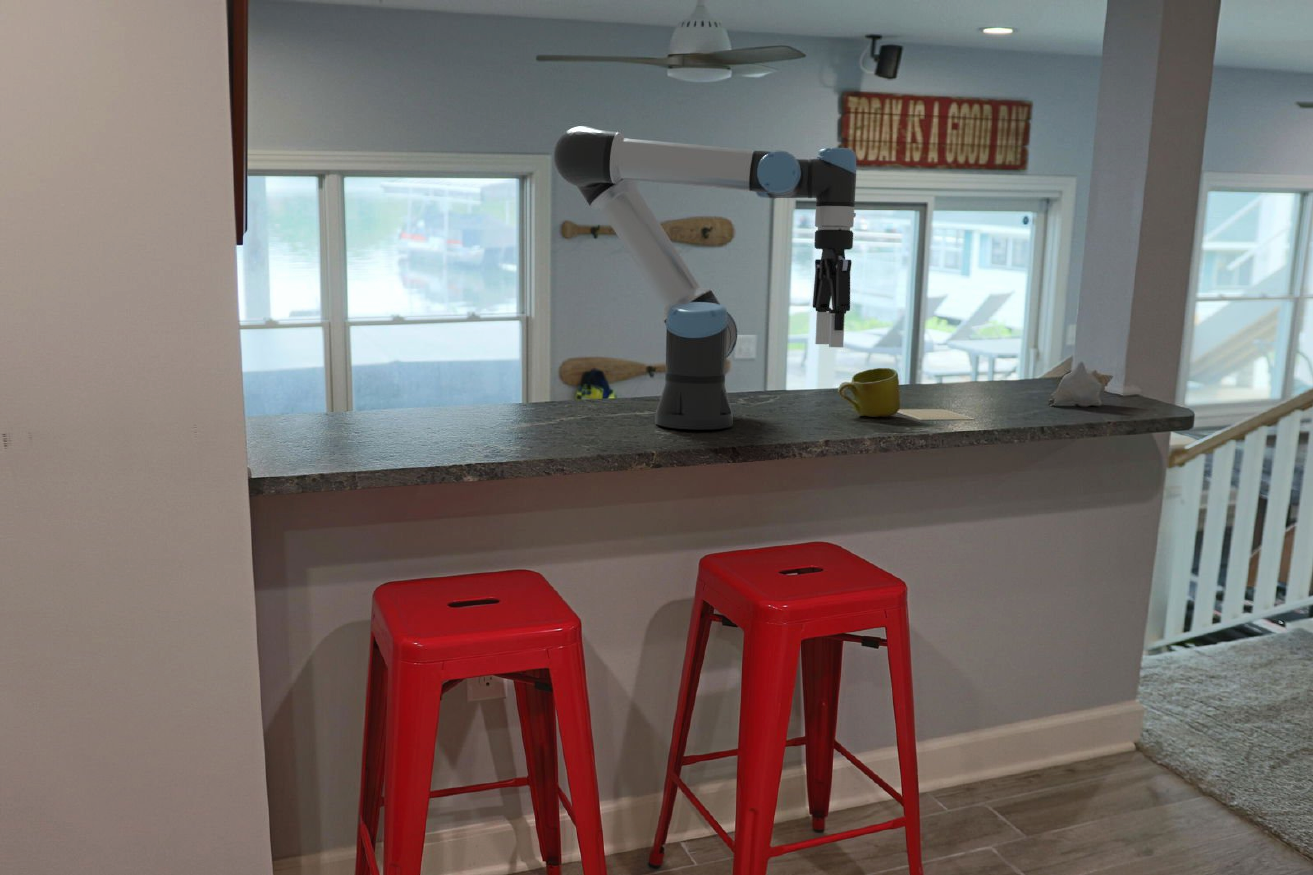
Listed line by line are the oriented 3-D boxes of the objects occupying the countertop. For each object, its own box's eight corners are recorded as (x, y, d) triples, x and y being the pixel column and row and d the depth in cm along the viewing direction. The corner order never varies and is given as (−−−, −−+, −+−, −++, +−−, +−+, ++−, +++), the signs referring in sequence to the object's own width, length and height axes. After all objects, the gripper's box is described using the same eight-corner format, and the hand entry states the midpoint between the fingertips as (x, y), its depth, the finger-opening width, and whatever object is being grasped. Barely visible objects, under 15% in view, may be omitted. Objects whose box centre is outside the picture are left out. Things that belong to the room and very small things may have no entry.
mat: (920, 420, 221) (920, 418, 221) (891, 410, 234) (891, 409, 234) (975, 419, 223) (975, 418, 223) (943, 410, 237) (943, 409, 237)
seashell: (1062, 426, 253) (1101, 373, 253) (1092, 435, 243) (1132, 380, 243) (1031, 397, 248) (1070, 344, 249) (1060, 405, 239) (1100, 349, 239)
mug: (901, 393, 229) (892, 353, 224) (909, 420, 221) (900, 380, 215) (843, 407, 232) (832, 368, 226) (849, 435, 223) (838, 396, 218)
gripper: (872, 228, 209) (866, 349, 213) (833, 230, 229) (828, 341, 232) (834, 227, 208) (829, 349, 211) (799, 229, 227) (794, 341, 231)
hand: (829, 345), depth 222 cm, fingers open, 7 cm apart
